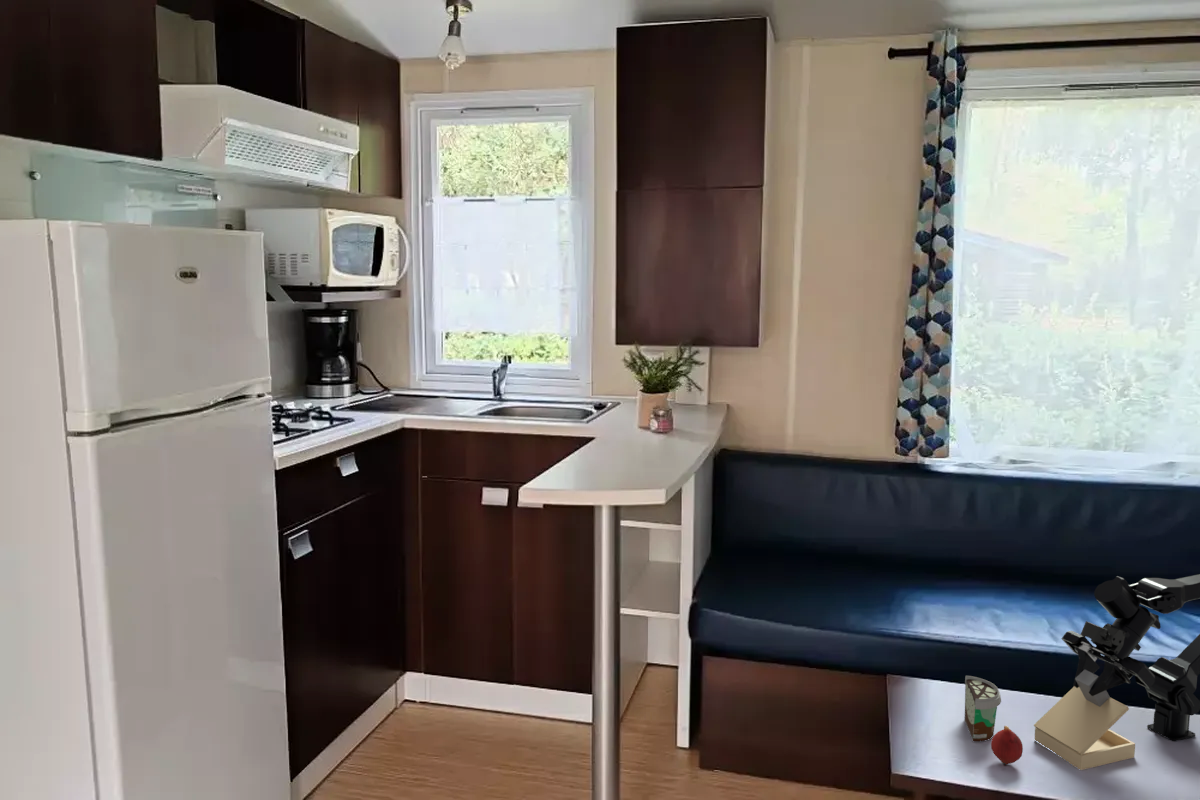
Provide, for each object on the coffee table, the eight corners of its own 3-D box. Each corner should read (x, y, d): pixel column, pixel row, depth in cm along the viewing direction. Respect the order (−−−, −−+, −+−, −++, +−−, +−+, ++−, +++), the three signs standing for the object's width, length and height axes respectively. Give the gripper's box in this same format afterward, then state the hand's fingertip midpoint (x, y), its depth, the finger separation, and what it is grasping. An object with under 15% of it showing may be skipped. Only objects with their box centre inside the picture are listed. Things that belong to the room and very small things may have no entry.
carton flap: (1080, 684, 196) (1068, 661, 194) (1129, 709, 185) (1116, 685, 183) (1035, 727, 193) (1022, 704, 191) (1081, 755, 182) (1068, 731, 180)
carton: (1086, 730, 198) (1086, 716, 198) (1134, 757, 187) (1135, 743, 187) (1034, 741, 194) (1035, 728, 193) (1080, 770, 183) (1081, 756, 182)
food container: (1005, 747, 192) (1007, 702, 190) (974, 745, 193) (976, 699, 191) (992, 719, 204) (994, 676, 202) (963, 717, 205) (965, 674, 203)
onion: (1022, 760, 187) (1023, 722, 186) (1021, 774, 182) (1023, 736, 180) (990, 754, 189) (992, 717, 188) (989, 767, 184) (991, 730, 183)
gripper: (1070, 593, 196) (1027, 650, 194) (1147, 625, 179) (1100, 688, 177) (1097, 623, 200) (1054, 680, 198) (1175, 657, 182) (1129, 719, 180)
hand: (1082, 690), depth 188 cm, fingers closed on carton flap, 3 cm apart
